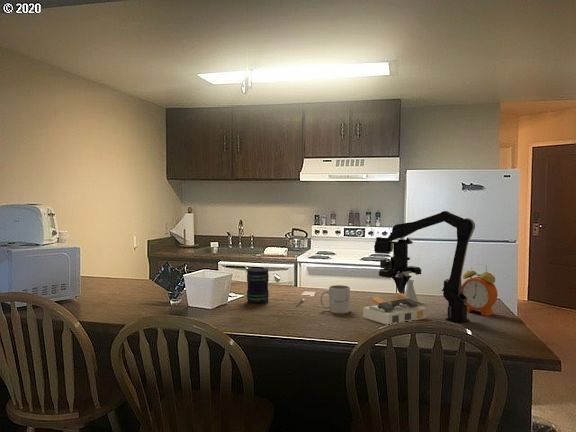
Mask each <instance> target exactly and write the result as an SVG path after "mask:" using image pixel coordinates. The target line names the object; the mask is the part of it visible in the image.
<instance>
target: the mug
mask: <svg viewBox="0 0 576 432" xmlns="http://www.w3.org/2000/svg"><path fill="white" fill-rule="evenodd" d="M325 294H328V305H324V303H323V296H324V295H325ZM319 297H320V298H319V301H320V305H321V307H322V308H323V309H328V312H330V313H333V314H347V313H350V311H351V309H350V308H351V303H350V302H351V288H350V286H349V285H342V284H341V285H340V284H336V285H335V284H334V285H329V286H328V290H324V291H323V292H322V293H321V294H320V296H319Z"/></svg>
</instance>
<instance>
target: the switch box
mask: <svg viewBox="0 0 576 432" xmlns="http://www.w3.org/2000/svg"><path fill="white" fill-rule="evenodd" d="M362 311H363V312H362V314H363V315H362V317H363V319H367V320H370V321H373V322H377V323H379V324H383V325H387V326H389V325H388V324H391V323H397V322H403V321H408V322H413V321H412V320H414V321H418V320H424V319H427V318H426V317H427V308H426V307H424V306H420V303H418V306H416V307H410V306H408V305H406V304H405V305H403V304H402V303H400V304H399V306H395V307H394V309H393V311H387V312H386V311H385V310H383V309H382V308H381V309H380V308H378V306H377V305H376V304H375V305H369V306H364V307H363V310H362ZM403 323H404V322H403Z"/></svg>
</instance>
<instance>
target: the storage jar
mask: <svg viewBox="0 0 576 432" xmlns="http://www.w3.org/2000/svg"><path fill="white" fill-rule="evenodd" d="M269 278H270V275H269V269H268V268H263V267H254V268H253V267H251V268H247V269H246V282H247V290H246V299H247V301H246V303H247V304H248V305H252V304H253V305H255V306H259V305H260V306H261V305H262V306H263V305H268V304H269V297H270V296H269V295H270V294H269V280H270V279H269Z"/></svg>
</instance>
